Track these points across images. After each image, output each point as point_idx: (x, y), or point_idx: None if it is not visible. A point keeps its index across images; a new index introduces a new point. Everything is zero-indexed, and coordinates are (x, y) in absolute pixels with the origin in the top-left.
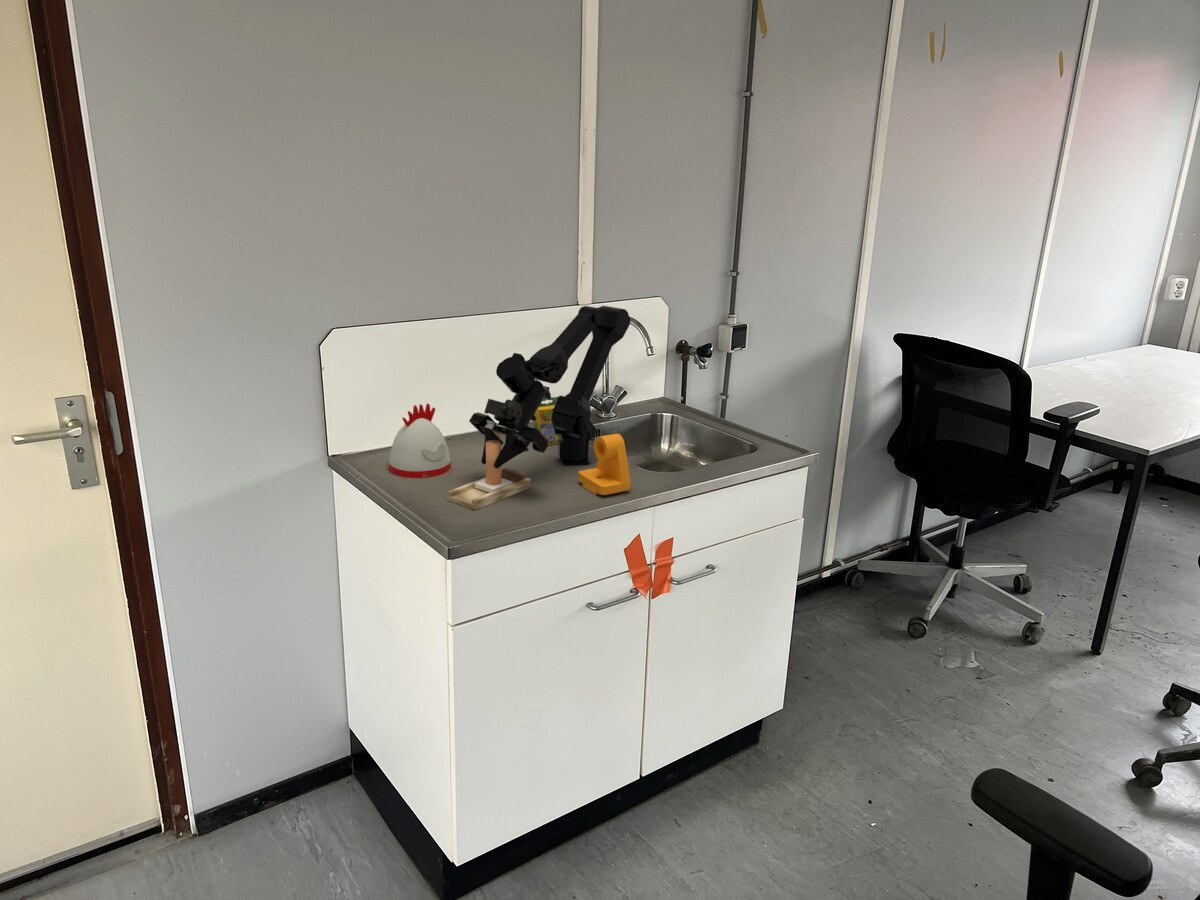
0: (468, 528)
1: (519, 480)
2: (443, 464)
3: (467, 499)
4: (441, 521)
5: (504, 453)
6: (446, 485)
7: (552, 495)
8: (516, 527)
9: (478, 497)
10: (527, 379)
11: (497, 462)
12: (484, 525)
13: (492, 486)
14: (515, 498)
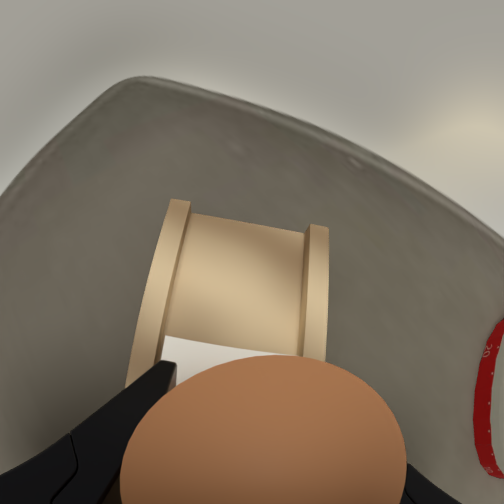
0: (129, 125)
1: None
2: (496, 416)
3: (235, 243)
4: (219, 125)
5: (71, 439)
6: (413, 352)
7: None
8: (16, 188)
9: (180, 235)
10: None
11: (141, 376)
12: (96, 154)
13: (191, 369)
14: (98, 403)
